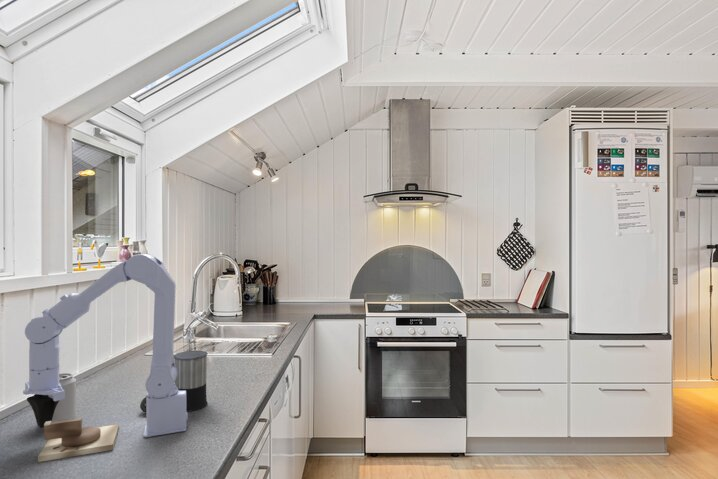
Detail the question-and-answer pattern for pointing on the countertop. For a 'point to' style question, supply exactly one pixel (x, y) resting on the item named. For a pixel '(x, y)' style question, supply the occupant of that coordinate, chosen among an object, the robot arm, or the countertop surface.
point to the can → (66, 399)
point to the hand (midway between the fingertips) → (44, 425)
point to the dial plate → (58, 451)
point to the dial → (71, 432)
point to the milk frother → (190, 378)
